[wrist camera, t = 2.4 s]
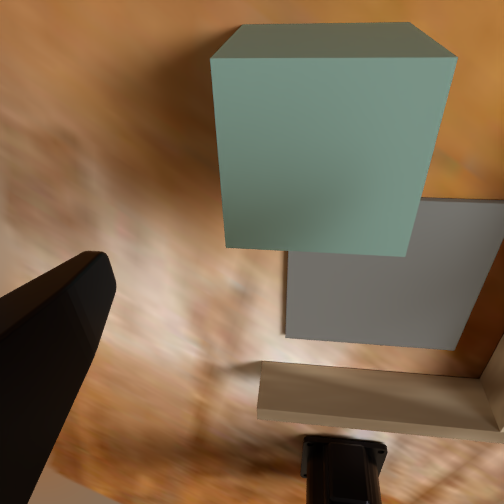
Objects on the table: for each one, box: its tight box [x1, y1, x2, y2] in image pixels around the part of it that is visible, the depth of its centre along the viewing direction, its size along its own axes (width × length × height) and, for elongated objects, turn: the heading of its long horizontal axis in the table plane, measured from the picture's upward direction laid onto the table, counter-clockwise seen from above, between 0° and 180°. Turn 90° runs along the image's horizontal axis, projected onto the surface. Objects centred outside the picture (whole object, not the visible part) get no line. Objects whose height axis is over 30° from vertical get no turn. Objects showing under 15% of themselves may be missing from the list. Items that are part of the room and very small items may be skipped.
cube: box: [210, 22, 458, 257], centre depth 14 cm, size 6×6×6 cm
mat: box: [285, 198, 504, 351], centre depth 21 cm, size 10×10×1 cm
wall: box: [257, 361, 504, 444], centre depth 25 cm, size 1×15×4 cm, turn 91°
